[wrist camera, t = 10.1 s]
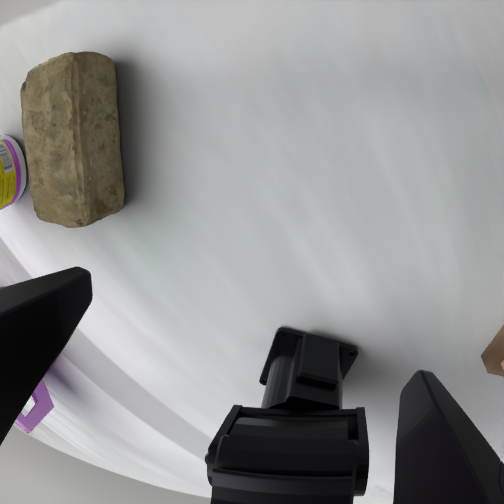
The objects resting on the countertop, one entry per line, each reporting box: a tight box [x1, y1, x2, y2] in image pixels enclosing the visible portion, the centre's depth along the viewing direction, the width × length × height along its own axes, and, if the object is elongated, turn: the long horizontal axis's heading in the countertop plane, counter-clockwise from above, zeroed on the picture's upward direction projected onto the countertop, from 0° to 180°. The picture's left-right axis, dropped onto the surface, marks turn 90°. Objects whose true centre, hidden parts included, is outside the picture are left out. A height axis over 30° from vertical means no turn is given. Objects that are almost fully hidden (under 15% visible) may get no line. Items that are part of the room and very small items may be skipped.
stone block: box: [20, 52, 125, 228], centre depth 18 cm, size 6×12×5 cm, turn 1°
